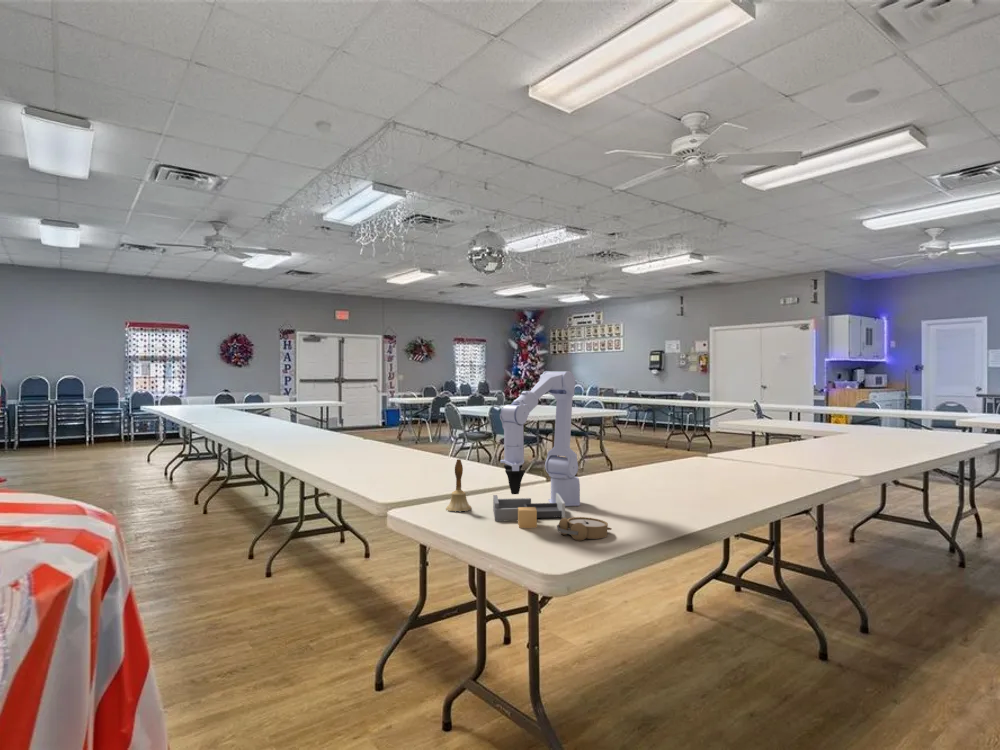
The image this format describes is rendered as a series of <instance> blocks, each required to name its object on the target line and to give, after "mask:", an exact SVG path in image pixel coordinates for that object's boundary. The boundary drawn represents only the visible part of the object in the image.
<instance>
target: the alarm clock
mask: <svg viewBox="0 0 1000 750" xmlns="http://www.w3.org/2000/svg"><path fill="white" fill-rule="evenodd" d="M556 528H557V530H556V531H557V532H559V533H560V534H561V535H563V536H567V535H569V536H571V538H572V539H574V540H575V541H578V542H581V541H584V540H585V539H590V540H591V539H592V540H593V539H594V540H596V539H597V540H598V539H603V538H604V539H605V538H607V537H608V531H611V530H613V529H612V528H611V527H609V524H608V522H607V521H605V520H604V519H603V520H602V519H598V518H593V517H585V516H584V517H582V516H577V517H576V516H575V517H574V516H573V517H569V518H567V517H565V518H562V517H561V519H559V522H558V524H557V525H556Z"/></svg>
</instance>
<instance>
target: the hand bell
mask: <svg viewBox="0 0 1000 750" xmlns="http://www.w3.org/2000/svg"><path fill="white" fill-rule="evenodd" d="M463 469H464V468H463V463H462V459H460V458H459V459H456V462H455V464H454V475H455V478H456V479H455V483H456V484H455V490H454V491H452V492H451V498H450V500H449V501H450V502H449V503H448V505H447V506H446V508H445V510H446V511H447V510H448V511H447V512H450V511H455V512H454V513H457V512H456V511H465V512H469V511H471V510H473V508H472V506H471V504H469V502H468V500H467V493H466V492H465V491H464V490H462V477H463V471H464V470H463ZM468 510H469V511H468Z"/></svg>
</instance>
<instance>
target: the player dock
mask: <svg viewBox="0 0 1000 750" xmlns="http://www.w3.org/2000/svg"><path fill="white" fill-rule="evenodd" d="M492 497H493V498H492V499H493V500H492V501H493V502H492V508H493V509H492V510H493V517H494V522H505V521H504V520H518V507H523V504H528V503H532V498H530V497H525V498H523V497H522V498H521V497H520V498H498V495H497V494H493V496H492Z"/></svg>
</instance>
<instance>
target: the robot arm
mask: <svg viewBox="0 0 1000 750" xmlns="http://www.w3.org/2000/svg"><path fill="white" fill-rule="evenodd" d="M575 391H576V377H575V375H574V374H573V373H572V371H569V370H566V371H565V370H564V371H553V370H552V371H549V370H545V371H543V372H542V374H540V376H539V381H537V383H535V385H534V386H533V387H532V388H531V390H523V391H522V392H521V393H520V395H519V396H518V397H517V398H516V399H514V400H513V401H512V402H511V404H506V405H504V406H503V407H502V408H501V410H500V413H499V419H500V421H501V425H502V430H503V438H504V439H503V440H504V441H503V444H504V448H503V449H504V450H503V452H504V455H503V456H504V457H503V459H500V460H499V461H500V462H499V463H500V464H503V467H504V470H505V475H506V476H507V480H508V487H509V490H510V493H511V495H519V493H520V491H521V484H522V480H523V478H524V476H525V473H526V470H523V469H522V467H523V464H525V459H524V457H525V456H524V453H525V452H524V448H525V447H524V446H525V444H524V425H525V424H526V422H527V420H528V417H529V415H530V413H531V412H532V411H533V410H534V409H535V408H536V407H537V406H538V404H539V399H540V398H542V397H543V396H544V395H545V394H546V393H548V394H549V395H551V396H553V398H554V399H555V400H556V406H555V425H554V439H553V447H552V448H551V449H550V450H548V451H547V457H546V459H545V464H544V468H545V471H546V473H547V474H548V477H550V499H548V503H549V502H550V503H556V493H558V494H559V495H560V497H561V498H562V499H563V501H564V502H565V507H577V506H578V507H579V506H581V484H580V478H579V477H578V476H576V475H577V474H578V471H579V463H578V454H577V453H576V451H574V450H573V449H572V448H571V432H572V430H571V429H572V415H573V414H572V413H573V397H574V396H575Z"/></svg>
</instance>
